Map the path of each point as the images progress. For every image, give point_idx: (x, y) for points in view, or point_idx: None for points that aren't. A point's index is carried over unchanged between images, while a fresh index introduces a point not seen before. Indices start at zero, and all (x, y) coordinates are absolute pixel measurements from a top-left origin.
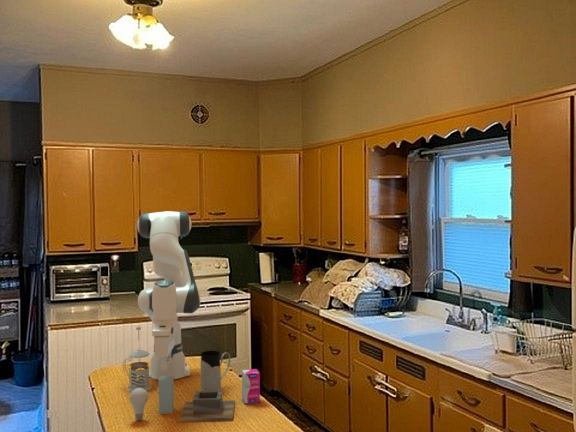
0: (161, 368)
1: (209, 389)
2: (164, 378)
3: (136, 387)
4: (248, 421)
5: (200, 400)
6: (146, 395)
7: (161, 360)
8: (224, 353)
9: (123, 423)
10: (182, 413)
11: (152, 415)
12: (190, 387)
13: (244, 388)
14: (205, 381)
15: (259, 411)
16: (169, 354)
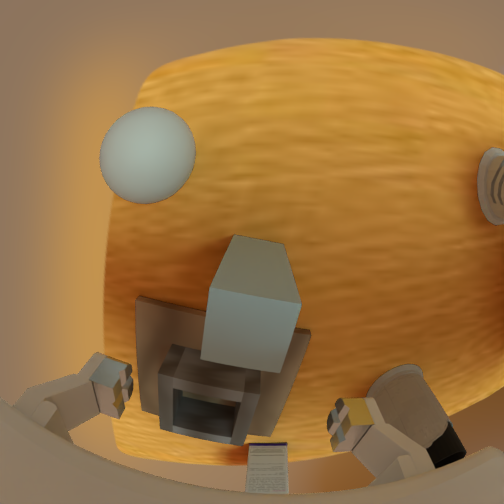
0: (94, 356)
1: (377, 396)
2: (236, 325)
3: (491, 173)
4: (140, 423)
5: (158, 389)
6: (121, 197)
7: (35, 398)
8: None
9: (167, 108)
10: (186, 315)
11: (222, 209)
12: (449, 337)
13: (252, 473)
14: (393, 404)
15: (198, 450)
16: (371, 460)
